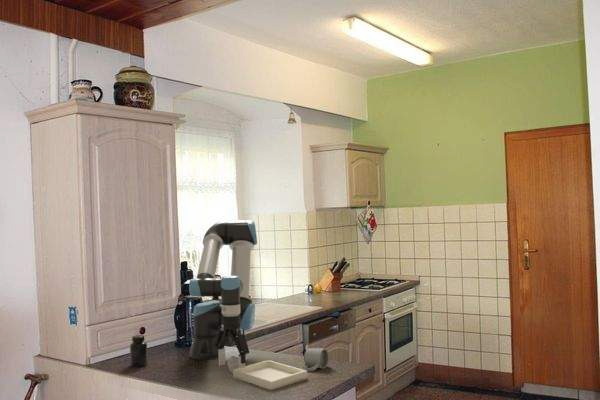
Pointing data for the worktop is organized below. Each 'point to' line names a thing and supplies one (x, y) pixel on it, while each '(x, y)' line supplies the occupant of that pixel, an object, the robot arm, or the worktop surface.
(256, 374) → the tray
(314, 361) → the ceramic mug
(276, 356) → the worktop surface
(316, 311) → the worktop surface
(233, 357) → the grey rough-textured block
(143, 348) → the supplement bottle
